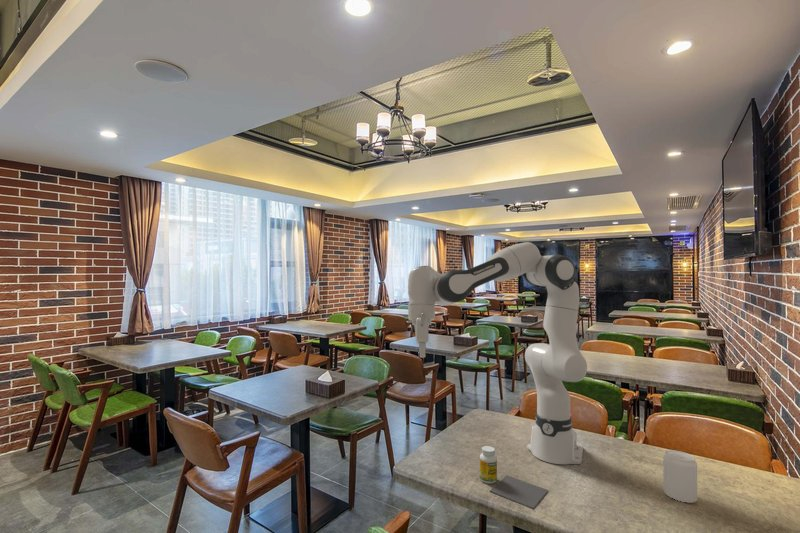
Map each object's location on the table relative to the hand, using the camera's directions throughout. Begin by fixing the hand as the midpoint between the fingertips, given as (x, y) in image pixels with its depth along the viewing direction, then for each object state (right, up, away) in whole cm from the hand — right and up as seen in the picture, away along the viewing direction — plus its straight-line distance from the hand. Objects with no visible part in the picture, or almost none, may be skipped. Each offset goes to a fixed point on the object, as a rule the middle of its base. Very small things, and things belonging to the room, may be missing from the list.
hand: (422, 357), depth 124 cm
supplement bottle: (+20, -38, -4) cm, 43 cm away
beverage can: (+75, -39, -11) cm, 85 cm away
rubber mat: (+28, -37, -10) cm, 48 cm away
